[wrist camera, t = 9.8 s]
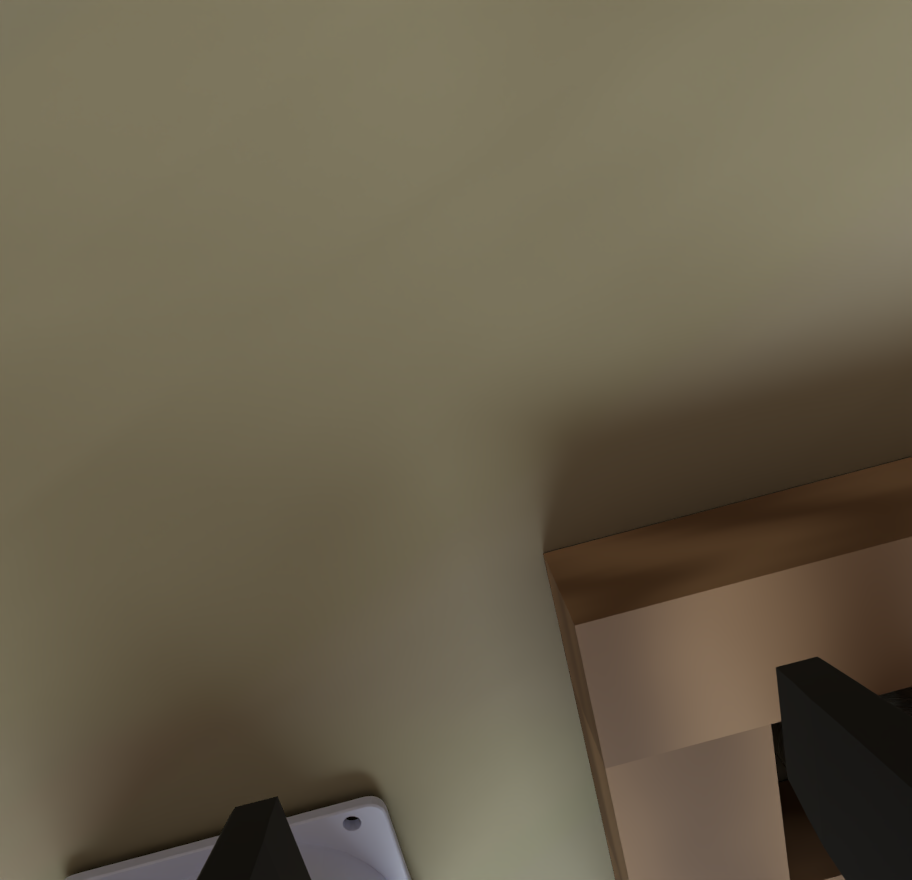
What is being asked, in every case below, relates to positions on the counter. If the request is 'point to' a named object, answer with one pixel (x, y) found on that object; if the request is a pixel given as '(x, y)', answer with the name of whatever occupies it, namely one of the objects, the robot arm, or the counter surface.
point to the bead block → (728, 664)
